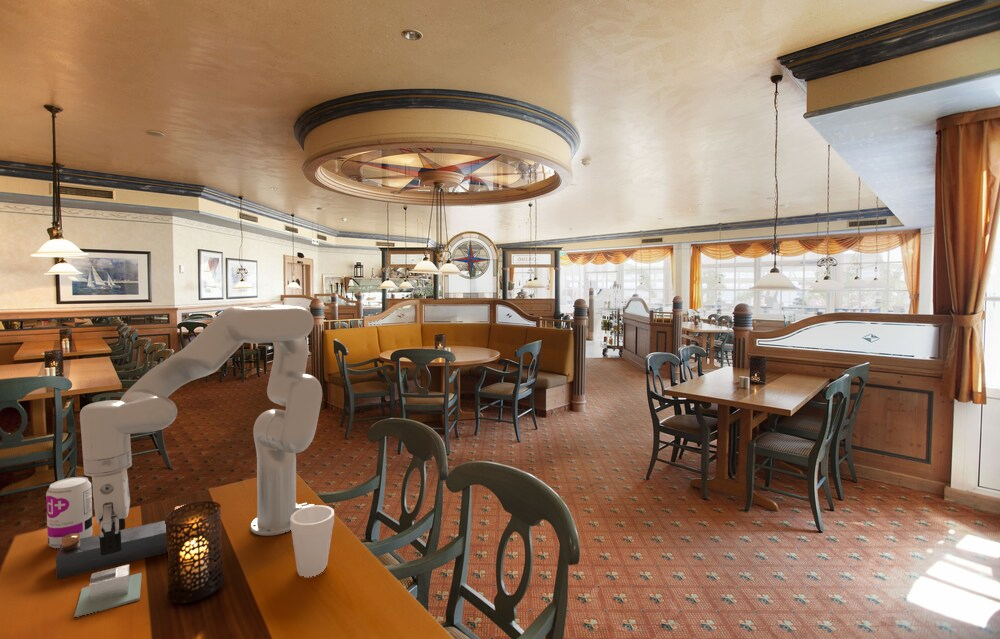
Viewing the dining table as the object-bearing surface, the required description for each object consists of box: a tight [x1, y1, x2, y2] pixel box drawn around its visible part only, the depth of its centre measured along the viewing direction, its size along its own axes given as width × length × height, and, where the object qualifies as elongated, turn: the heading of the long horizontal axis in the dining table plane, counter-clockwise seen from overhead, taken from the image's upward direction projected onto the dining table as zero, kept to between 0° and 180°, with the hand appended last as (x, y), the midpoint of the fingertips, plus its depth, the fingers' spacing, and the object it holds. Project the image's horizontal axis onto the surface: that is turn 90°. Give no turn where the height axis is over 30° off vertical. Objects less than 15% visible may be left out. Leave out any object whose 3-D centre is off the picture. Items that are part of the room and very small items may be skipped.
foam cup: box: [290, 504, 335, 578], centre depth 107 cm, size 10×9×13 cm
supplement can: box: [45, 476, 94, 550], centre depth 116 cm, size 8×8×15 cm
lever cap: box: [89, 564, 130, 604], centre depth 97 cm, size 6×4×5 cm
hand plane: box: [55, 504, 185, 580], centre depth 111 cm, size 24×7×9 cm, turn 126°
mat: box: [73, 572, 143, 617], centre depth 97 cm, size 10×10×1 cm
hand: (113, 541), depth 97 cm, fingers open, 9 cm apart
